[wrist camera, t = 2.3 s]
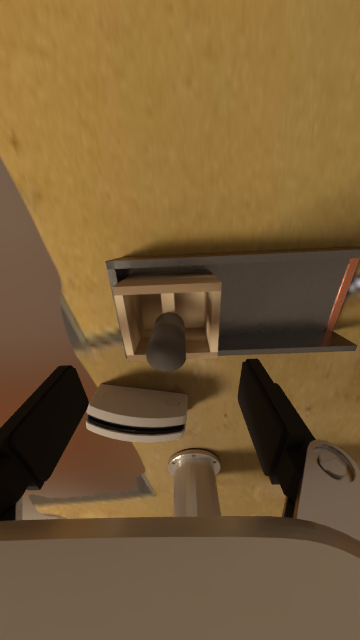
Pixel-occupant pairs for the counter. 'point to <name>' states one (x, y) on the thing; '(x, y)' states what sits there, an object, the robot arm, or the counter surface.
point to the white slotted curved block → (137, 414)
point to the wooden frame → (169, 317)
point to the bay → (266, 295)
